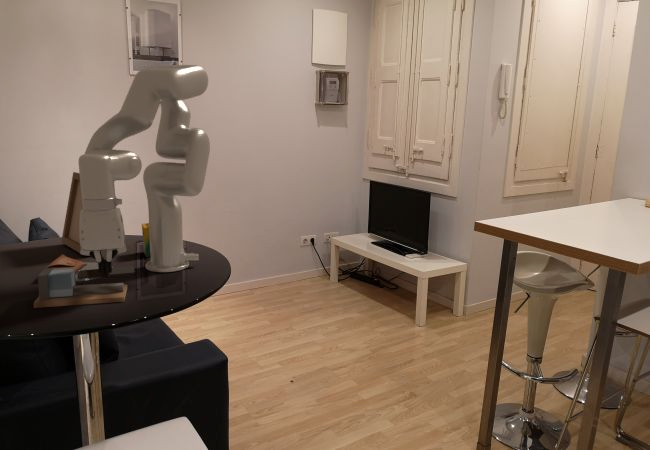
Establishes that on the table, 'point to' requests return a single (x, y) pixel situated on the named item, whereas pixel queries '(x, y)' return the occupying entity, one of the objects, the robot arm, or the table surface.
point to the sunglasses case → (67, 264)
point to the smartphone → (95, 274)
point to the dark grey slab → (44, 284)
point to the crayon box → (146, 239)
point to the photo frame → (73, 215)
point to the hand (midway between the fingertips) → (106, 275)
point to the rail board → (87, 295)
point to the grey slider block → (61, 282)
